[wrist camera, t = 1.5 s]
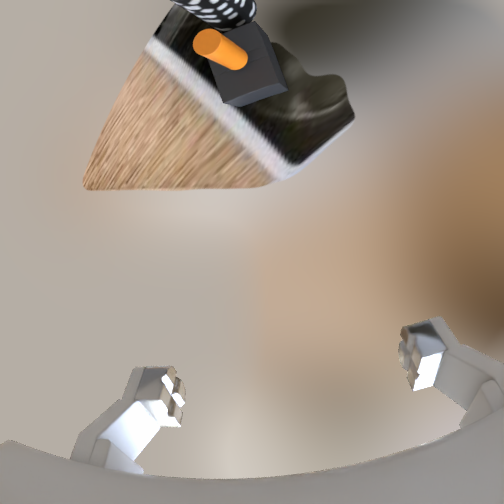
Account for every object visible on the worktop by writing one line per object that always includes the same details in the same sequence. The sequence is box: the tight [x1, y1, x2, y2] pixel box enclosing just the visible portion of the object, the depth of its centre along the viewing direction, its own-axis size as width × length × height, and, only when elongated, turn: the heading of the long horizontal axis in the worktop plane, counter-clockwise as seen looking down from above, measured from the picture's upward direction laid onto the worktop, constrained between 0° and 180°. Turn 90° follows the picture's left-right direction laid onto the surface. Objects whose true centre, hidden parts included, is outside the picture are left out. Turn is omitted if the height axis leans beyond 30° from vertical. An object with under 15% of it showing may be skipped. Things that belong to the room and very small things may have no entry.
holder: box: [208, 21, 288, 107], centre depth 37 cm, size 10×8×7 cm
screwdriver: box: [193, 29, 248, 70], centre depth 33 cm, size 3×3×17 cm
